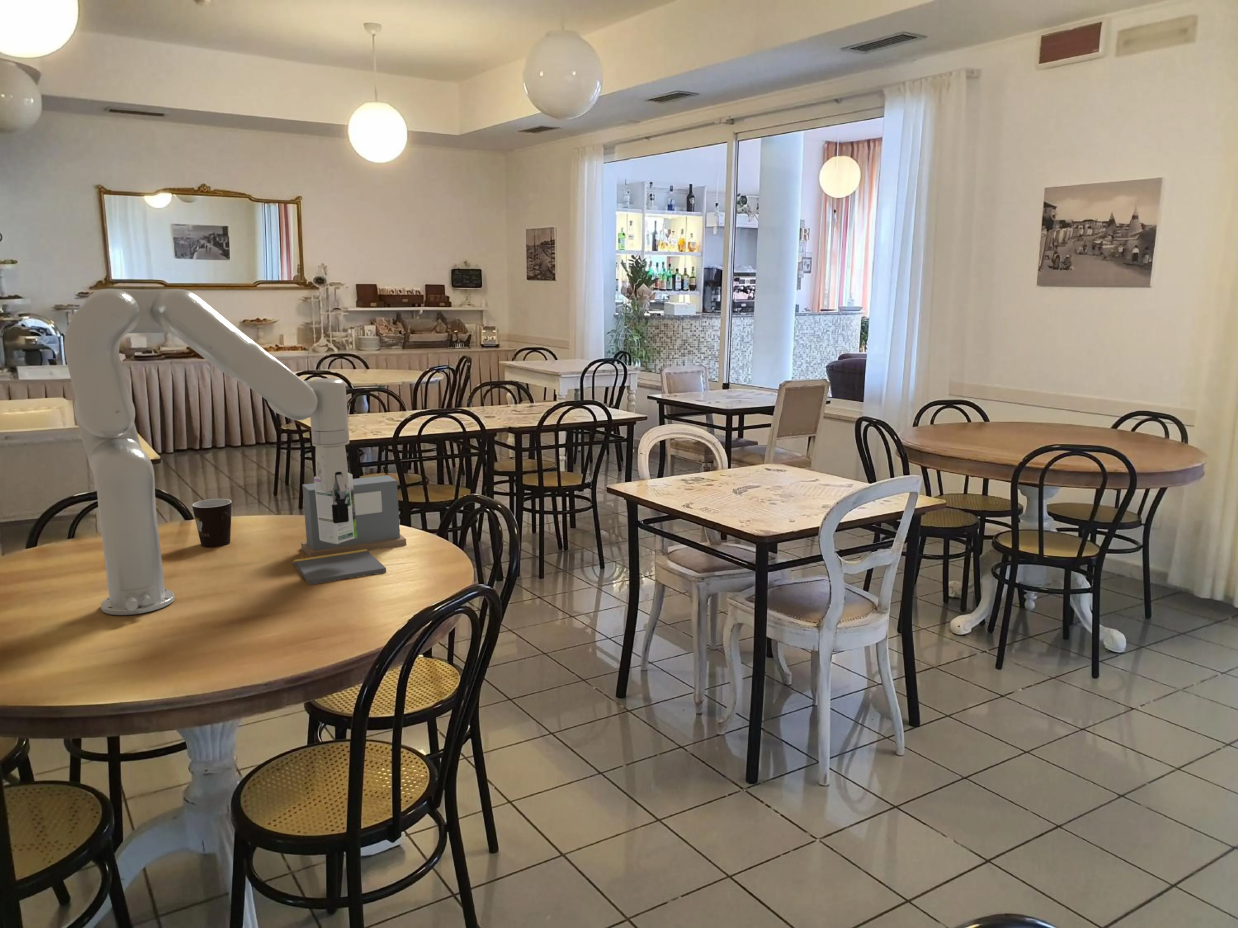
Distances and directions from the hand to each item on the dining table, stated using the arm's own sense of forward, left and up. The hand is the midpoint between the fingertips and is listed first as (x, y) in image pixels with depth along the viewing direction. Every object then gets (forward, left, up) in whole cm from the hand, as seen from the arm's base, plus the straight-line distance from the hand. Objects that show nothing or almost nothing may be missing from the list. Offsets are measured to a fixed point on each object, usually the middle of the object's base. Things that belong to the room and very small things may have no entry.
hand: (336, 517), depth 194 cm
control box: (+15, -7, -11) cm, 20 cm away
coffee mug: (+33, +21, -12) cm, 41 cm away
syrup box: (0, 0, -5) cm, 5 cm away
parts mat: (0, 0, -11) cm, 11 cm away
